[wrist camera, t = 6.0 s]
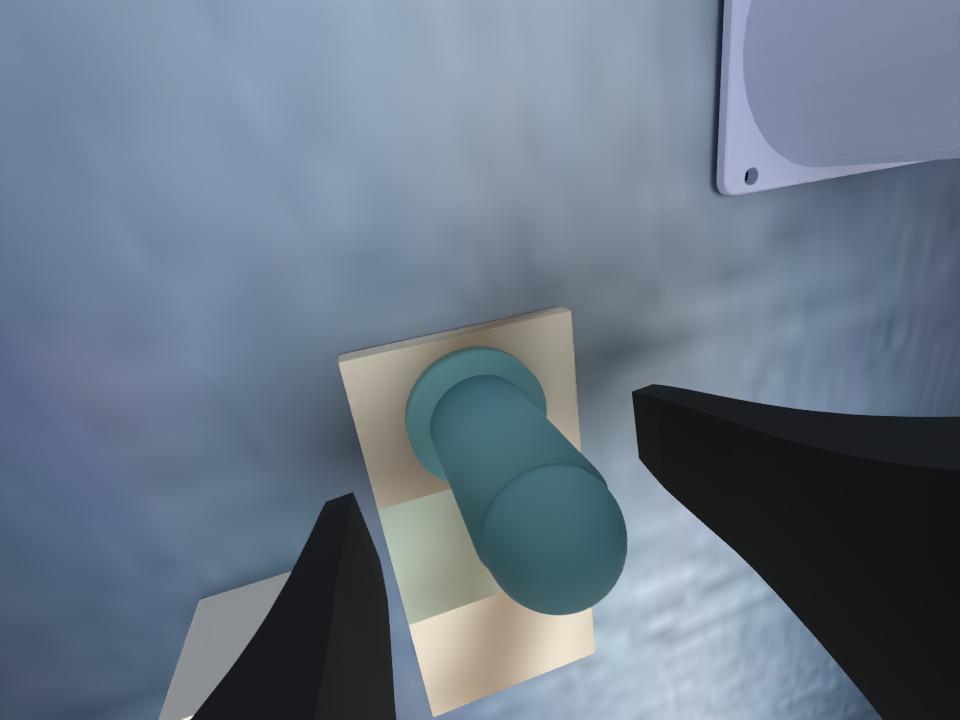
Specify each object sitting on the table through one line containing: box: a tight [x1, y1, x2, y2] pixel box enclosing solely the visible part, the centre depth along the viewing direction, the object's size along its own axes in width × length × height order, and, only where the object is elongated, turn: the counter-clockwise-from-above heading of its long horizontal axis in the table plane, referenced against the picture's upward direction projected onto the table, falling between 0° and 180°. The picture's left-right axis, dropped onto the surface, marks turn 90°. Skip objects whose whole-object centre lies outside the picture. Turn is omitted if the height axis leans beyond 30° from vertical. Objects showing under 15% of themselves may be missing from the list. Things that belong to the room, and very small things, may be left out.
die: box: [159, 571, 292, 720], centre depth 14 cm, size 4×4×4 cm
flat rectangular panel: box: [338, 306, 595, 717], centre depth 17 cm, size 7×15×1 cm, turn 8°
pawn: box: [405, 346, 627, 615], centre depth 11 cm, size 4×4×7 cm
